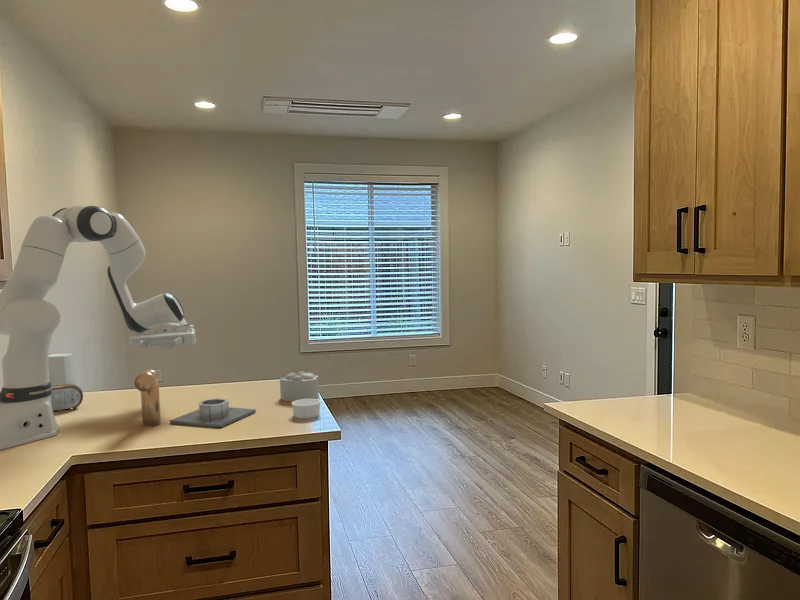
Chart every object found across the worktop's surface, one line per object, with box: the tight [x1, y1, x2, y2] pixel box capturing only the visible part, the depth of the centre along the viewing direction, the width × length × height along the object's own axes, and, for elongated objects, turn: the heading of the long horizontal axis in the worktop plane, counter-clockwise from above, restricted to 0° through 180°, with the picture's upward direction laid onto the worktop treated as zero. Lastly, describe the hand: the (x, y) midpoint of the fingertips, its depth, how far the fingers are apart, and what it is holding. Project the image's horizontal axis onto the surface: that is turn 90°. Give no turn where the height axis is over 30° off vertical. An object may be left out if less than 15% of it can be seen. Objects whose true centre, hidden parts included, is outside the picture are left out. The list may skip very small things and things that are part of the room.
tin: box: [51, 384, 84, 412], centre depth 194 cm, size 15×3×8 cm, turn 123°
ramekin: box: [291, 398, 321, 420], centre depth 181 cm, size 9×9×4 cm
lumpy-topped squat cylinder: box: [279, 371, 320, 403], centre depth 204 cm, size 10×13×9 cm
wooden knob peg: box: [133, 369, 162, 428], centre depth 172 cm, size 10×5×16 cm, turn 11°
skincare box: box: [48, 353, 78, 386], centre depth 214 cm, size 8×7×16 cm
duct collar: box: [169, 398, 257, 428], centre depth 181 cm, size 18×18×5 cm
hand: (158, 344), depth 186 cm, fingers open, 8 cm apart
